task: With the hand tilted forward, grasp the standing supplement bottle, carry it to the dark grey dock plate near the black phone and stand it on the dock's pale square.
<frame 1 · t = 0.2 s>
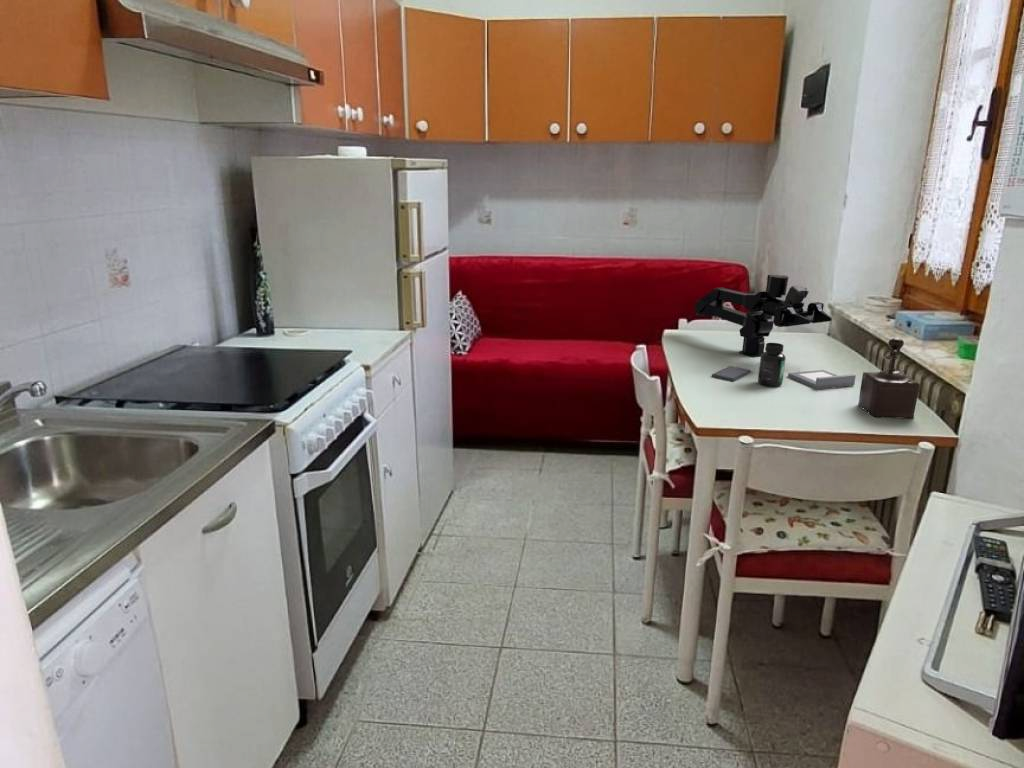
hand: (820, 320, 213), 17 cm above the table, tool horizontal, fingers open, 9 cm apart
dock: (820, 381, 211), on the table
supplement bottle: (769, 384, 207), on the table
pepper mill: (881, 409, 188), on the table
phone: (731, 374, 216), on the table
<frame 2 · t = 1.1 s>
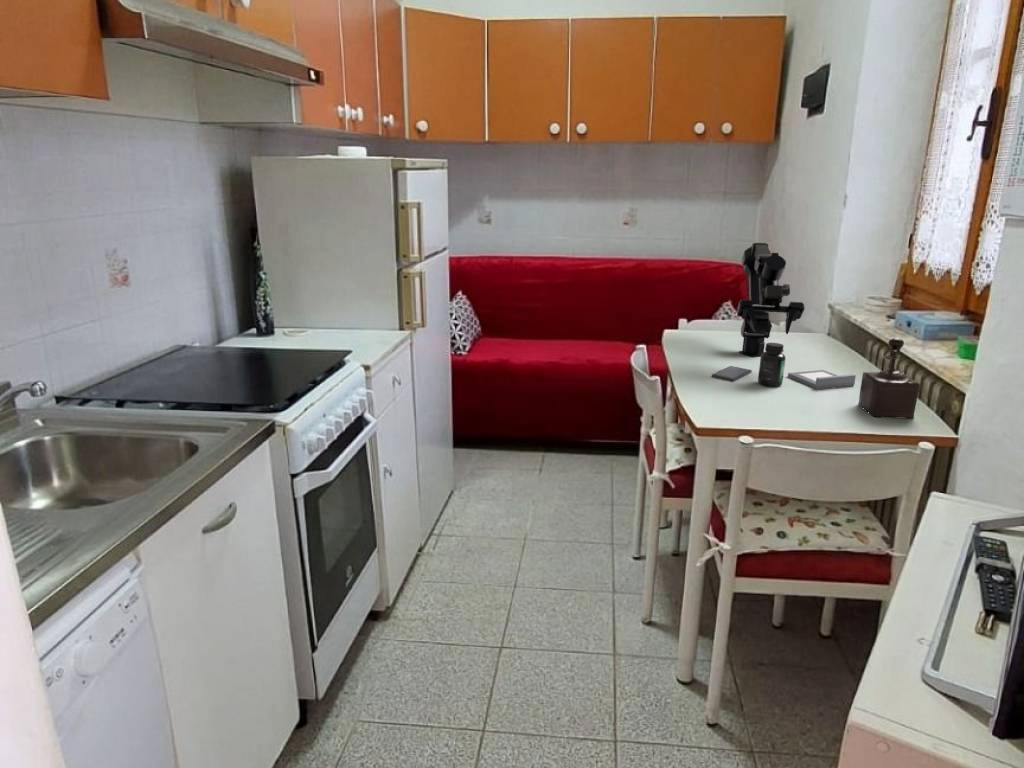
hand: (771, 332, 211), 14 cm above the table, tool tilted 45°, fingers open, 9 cm apart
nothing on the table moved.
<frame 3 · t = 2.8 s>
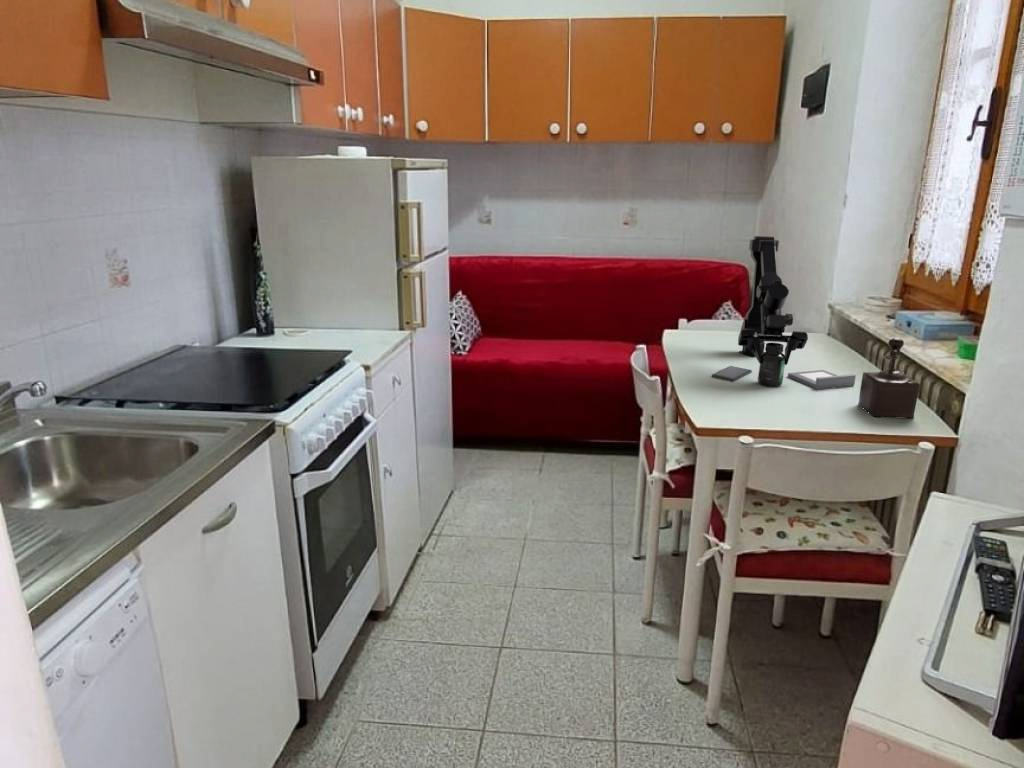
hand: (773, 363, 204), 7 cm above the table, tool tilted 45°, fingers closed on supplement bottle, 7 cm apart
supplement bottle: (769, 384, 207), on the table, touching gripper
everything else where it was.
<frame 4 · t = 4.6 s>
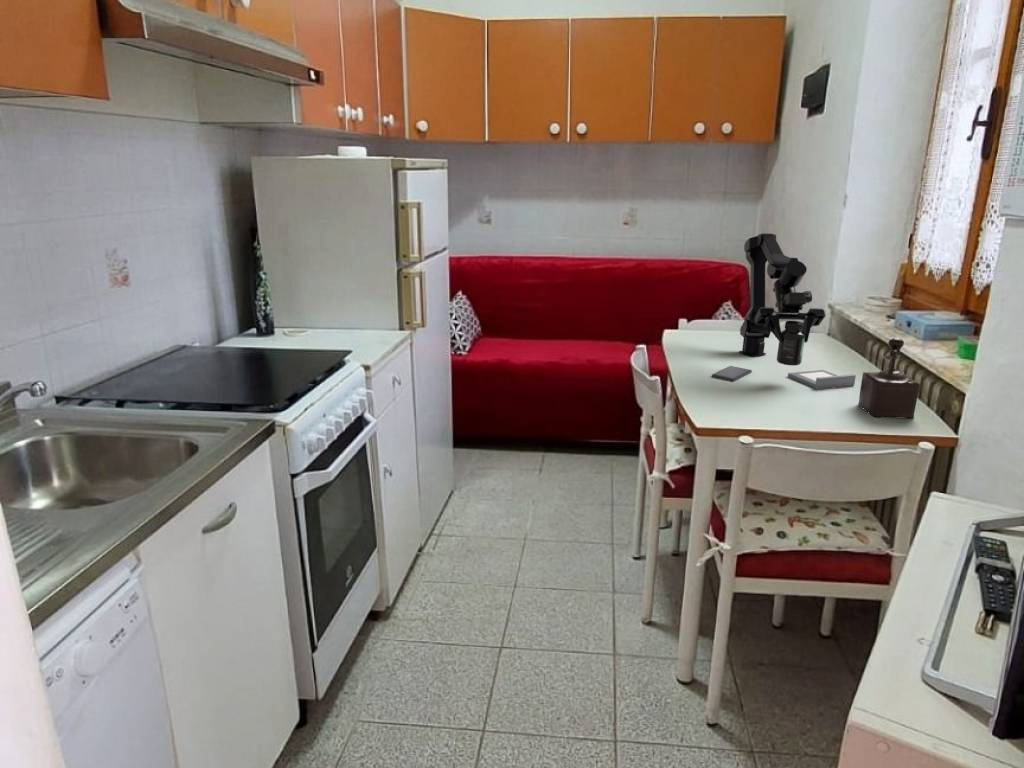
hand: (793, 341, 202), 13 cm above the table, tool tilted 45°, fingers closed on supplement bottle, 7 cm apart
supplement bottle: (788, 363, 206), point 6 cm above the table, touching gripper
everything else where it was.
when the fingers open (9 cm above the table, at t = 6.6 s): supplement bottle drops 1 cm, resting on dock.
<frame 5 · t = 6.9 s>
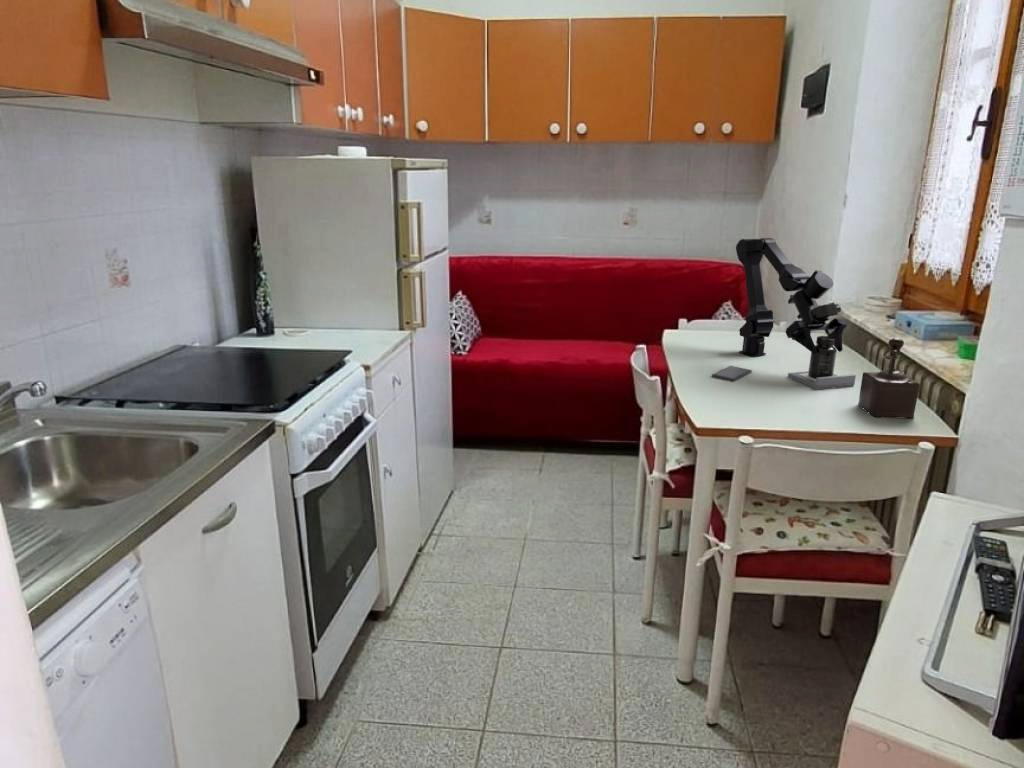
hand: (828, 352, 207), 9 cm above the table, tool tilted 45°, fingers open, 9 cm apart
supplement bottle: (820, 377, 210), point 1 cm above the table, touching dock
everything else where it was.
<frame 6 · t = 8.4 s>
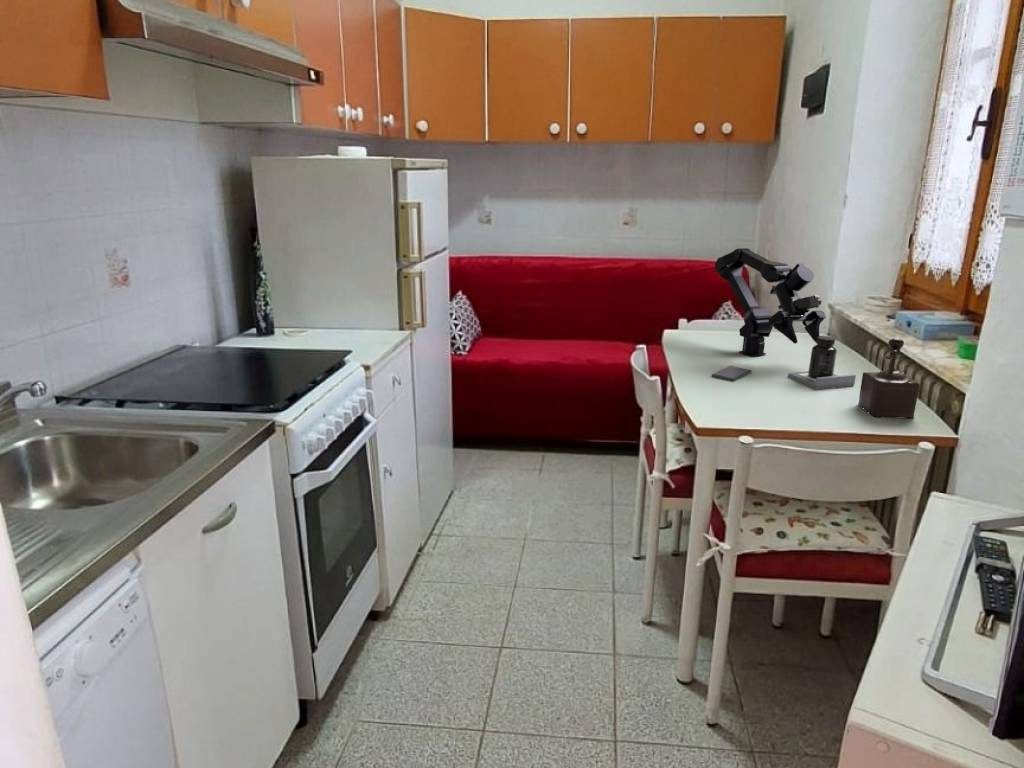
hand: (807, 342, 216), 10 cm above the table, tool tilted 40°, fingers open, 9 cm apart
nothing on the table moved.
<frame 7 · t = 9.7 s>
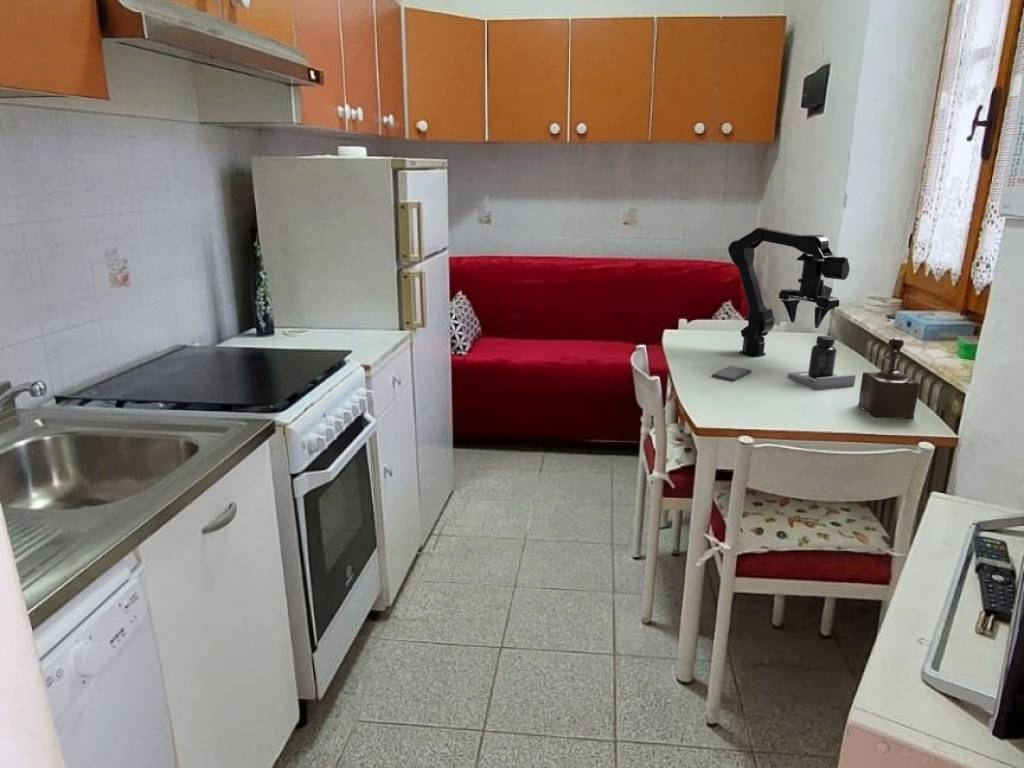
hand: (804, 324, 225), 13 cm above the table, tool pointing down, fingers open, 9 cm apart
nothing on the table moved.
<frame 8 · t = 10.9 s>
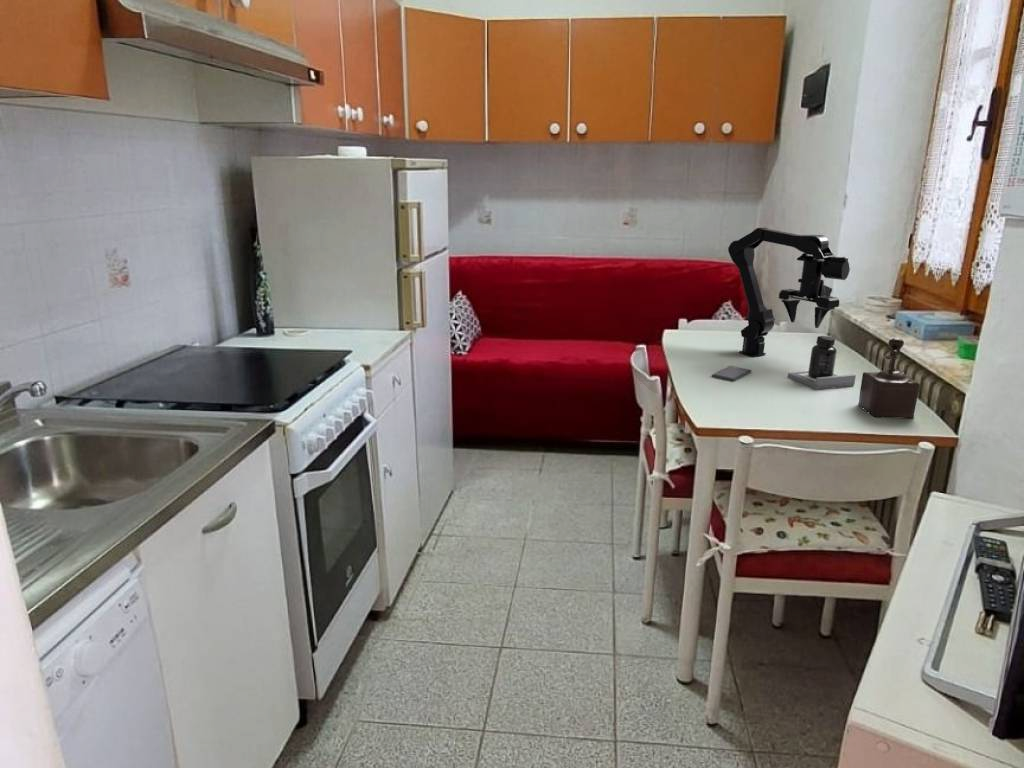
hand: (804, 325, 225), 13 cm above the table, tool pointing down, fingers open, 9 cm apart
nothing on the table moved.
at the end: supplement bottle inside the target area on the dock (0.2 cm from its centre), point 1.1 cm above the dock's base; supplement bottle tilted 0°; the gripper is holding nothing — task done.
